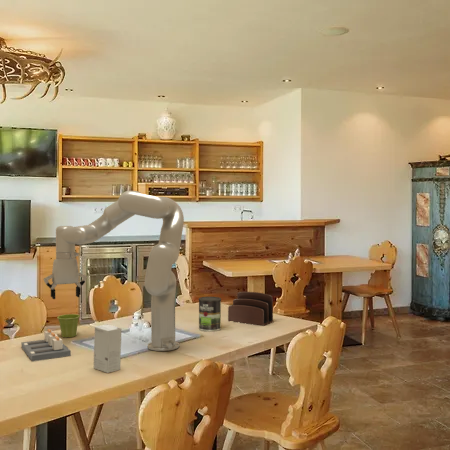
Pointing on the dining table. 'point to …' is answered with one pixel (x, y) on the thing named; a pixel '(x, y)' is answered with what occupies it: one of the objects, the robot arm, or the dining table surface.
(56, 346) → the tab
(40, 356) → the switch bank
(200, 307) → the coffee can
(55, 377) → the dining table surface
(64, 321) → the plant pot
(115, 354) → the skincare box
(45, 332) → the tab
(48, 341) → the tab
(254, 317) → the letter holder
